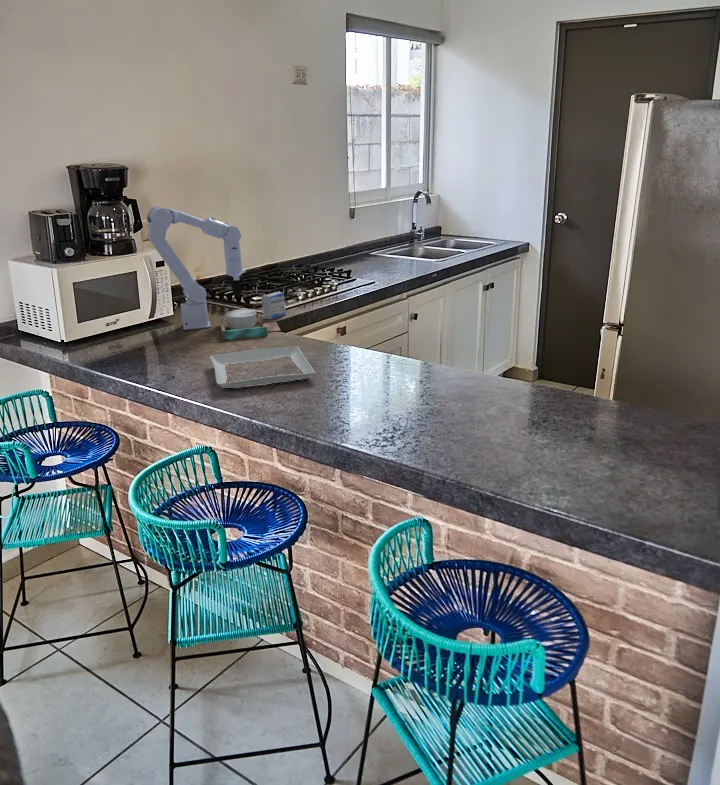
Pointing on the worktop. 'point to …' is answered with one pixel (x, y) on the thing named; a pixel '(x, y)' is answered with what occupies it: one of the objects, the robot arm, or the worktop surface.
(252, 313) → the ramekin
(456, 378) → the worktop surface
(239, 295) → the robot arm
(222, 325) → the lane
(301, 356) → the square plate
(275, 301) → the medicine box
